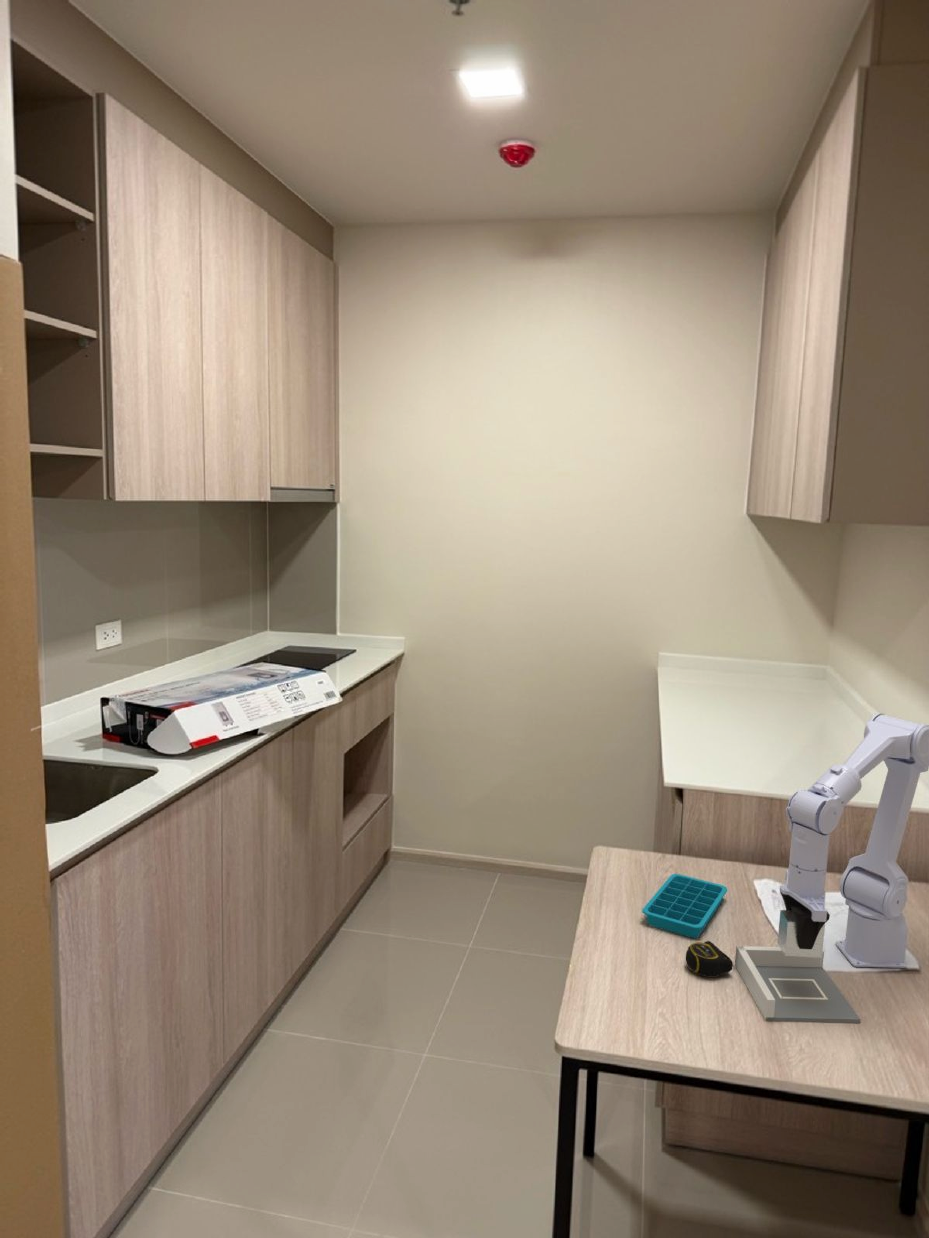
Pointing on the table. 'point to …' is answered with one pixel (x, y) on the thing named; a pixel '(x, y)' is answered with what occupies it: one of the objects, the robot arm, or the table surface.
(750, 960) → the tray
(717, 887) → the ice cube tray
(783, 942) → the aluminium block
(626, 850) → the table surface
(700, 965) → the tape measure
